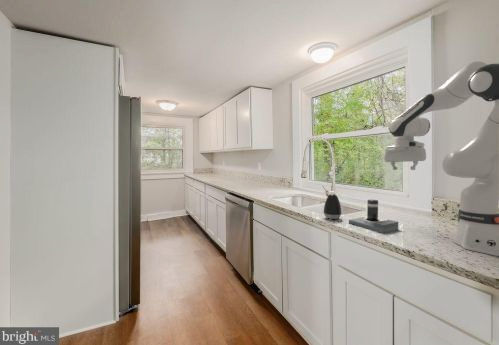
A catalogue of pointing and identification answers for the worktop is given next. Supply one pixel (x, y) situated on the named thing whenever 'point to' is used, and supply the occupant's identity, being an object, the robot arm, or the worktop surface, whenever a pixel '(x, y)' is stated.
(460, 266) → the worktop surface
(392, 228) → the mount
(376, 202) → the lens
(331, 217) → the pump dispenser
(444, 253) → the worktop surface
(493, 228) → the robot arm
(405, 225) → the worktop surface
